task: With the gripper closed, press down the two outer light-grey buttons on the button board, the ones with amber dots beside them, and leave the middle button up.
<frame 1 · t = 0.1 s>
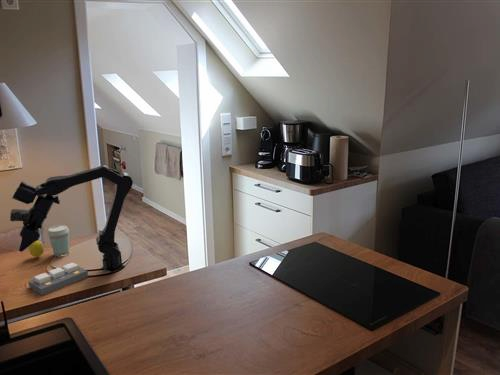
hand: (21, 246, 160), 15 cm above the table, tool tilted 30°, fingers open, 9 cm apart
button 1: (42, 278, 160), point 3 cm above the table, slide at 0.0 cm
middle button: (56, 273, 164), point 3 cm above the table, slide at 0.0 cm
button 2: (70, 267, 168), point 3 cm above the table, slide at 0.0 cm
lemon: (38, 258, 187), on the table
coffee cup: (61, 254, 190), on the table
button board: (59, 281, 165), on the table
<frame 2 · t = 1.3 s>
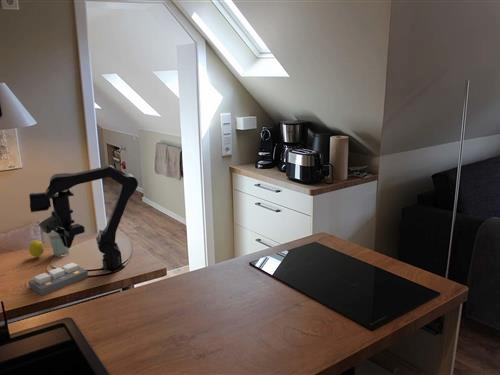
hand: (67, 247, 166), 12 cm above the table, tool pointing down, fingers closed
nothing on the table moved.
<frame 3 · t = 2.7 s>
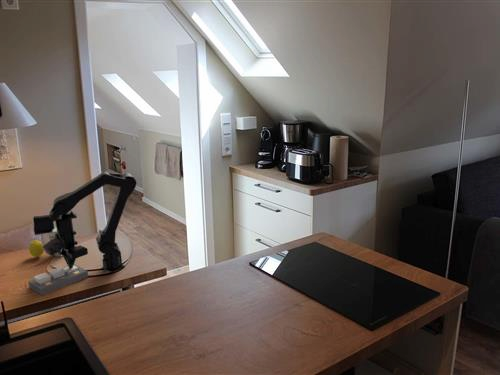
hand: (70, 267, 169), 3 cm above the table, tool pointing down, fingers closed, pressing on button 2
button 2: (70, 270, 169), point 2 cm above the table, slide at 1.0 cm, touching gripper
everything else where it was.
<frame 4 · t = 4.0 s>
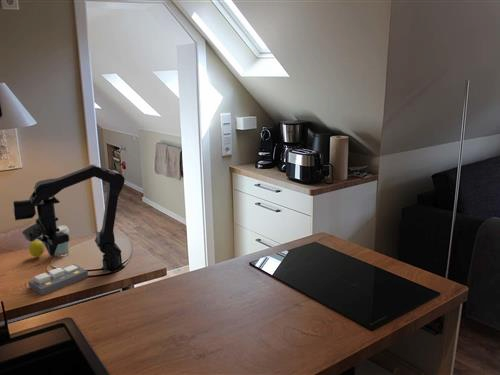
hand: (51, 255, 162), 11 cm above the table, tool pointing down, fingers closed
button 2: (71, 270, 169), point 2 cm above the table, slide at 1.0 cm
everything else where it was.
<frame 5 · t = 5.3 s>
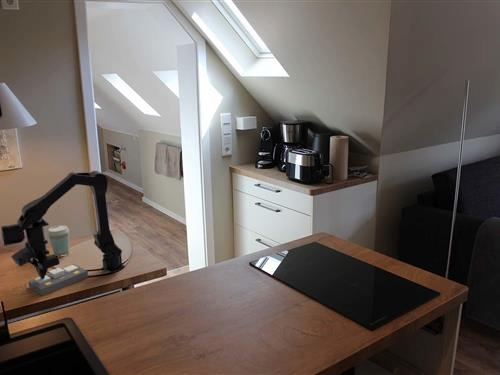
hand: (42, 278, 160), 3 cm above the table, tool pointing down, fingers closed, pressing on button 1
button 1: (42, 280, 161), point 2 cm above the table, slide at 0.9 cm, touching gripper
everything else where it was.
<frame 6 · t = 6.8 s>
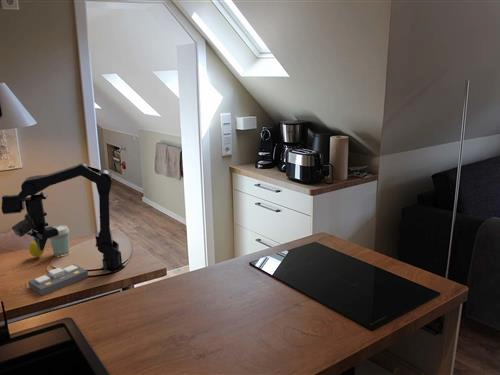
hand: (41, 250, 166), 11 cm above the table, tool pointing down, fingers closed
button 1: (42, 281, 161), point 2 cm above the table, slide at 1.0 cm
everything else where it was.
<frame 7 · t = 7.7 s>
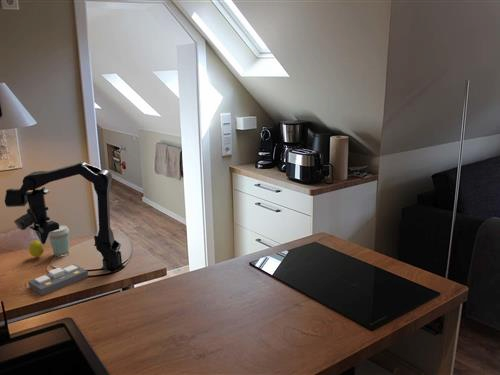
hand: (43, 243, 170), 12 cm above the table, tool pointing down, fingers closed
nothing on the table moved.
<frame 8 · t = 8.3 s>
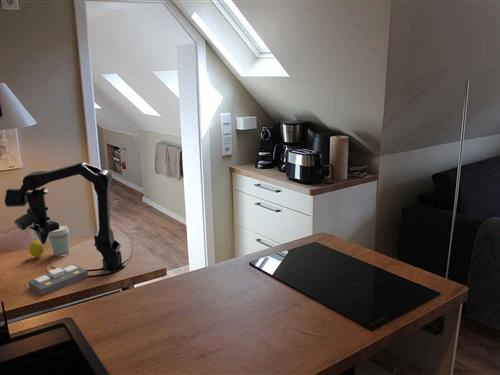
hand: (43, 243, 170), 12 cm above the table, tool pointing down, fingers closed
nothing on the table moved.
at the end: button 2 slide at 1.0 cm; button 1 slide at 1.0 cm; middle button slide at 0.0 cm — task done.
